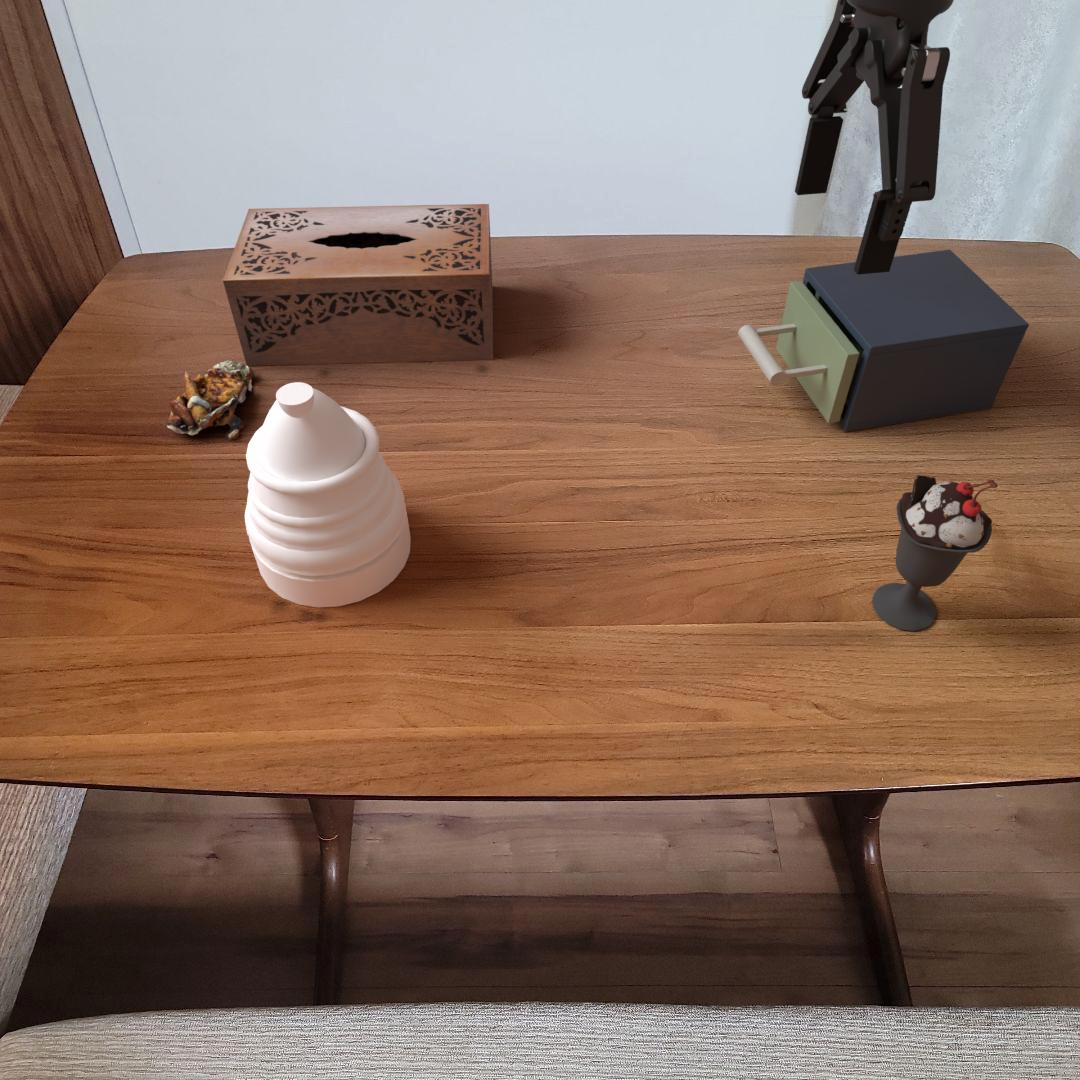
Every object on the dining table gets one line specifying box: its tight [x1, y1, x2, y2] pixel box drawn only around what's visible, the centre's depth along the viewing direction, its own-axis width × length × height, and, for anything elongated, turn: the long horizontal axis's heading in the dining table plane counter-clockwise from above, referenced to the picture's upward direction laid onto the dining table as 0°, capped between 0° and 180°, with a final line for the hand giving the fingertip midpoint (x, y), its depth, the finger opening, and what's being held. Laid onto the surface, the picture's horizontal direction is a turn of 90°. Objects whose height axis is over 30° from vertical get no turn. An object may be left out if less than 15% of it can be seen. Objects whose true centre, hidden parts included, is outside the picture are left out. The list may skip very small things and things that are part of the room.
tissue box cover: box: [222, 203, 494, 367], centre depth 98 cm, size 26×14×10 cm, turn 92°
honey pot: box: [244, 381, 412, 608], centre depth 72 cm, size 13×13×18 cm
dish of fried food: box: [166, 360, 254, 441], centre depth 91 cm, size 7×12×4 cm, turn 3°
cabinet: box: [802, 249, 1030, 433], centre depth 92 cm, size 16×14×10 cm
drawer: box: [737, 280, 864, 424], centre depth 91 cm, size 20×13×8 cm, turn 103°
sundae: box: [872, 474, 998, 632], centre depth 69 cm, size 7×7×15 cm
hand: (839, 229), depth 79 cm, fingers open, 13 cm apart
